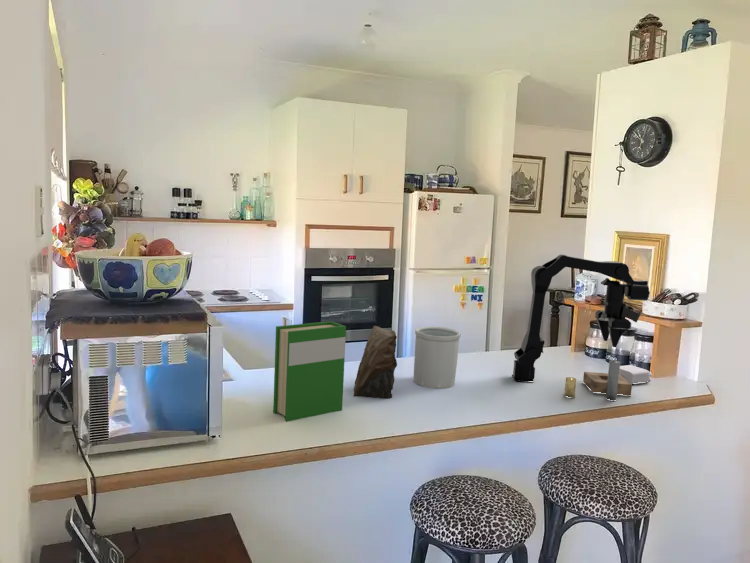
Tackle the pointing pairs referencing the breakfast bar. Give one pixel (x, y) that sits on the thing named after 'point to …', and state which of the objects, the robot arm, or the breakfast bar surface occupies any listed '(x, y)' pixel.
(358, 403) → the breakfast bar surface
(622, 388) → the walnut hole block
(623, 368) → the charger
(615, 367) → the long steel pin
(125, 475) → the breakfast bar surface
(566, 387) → the short brass pin
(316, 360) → the hardback book
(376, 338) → the brown rock
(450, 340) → the utensil holder
